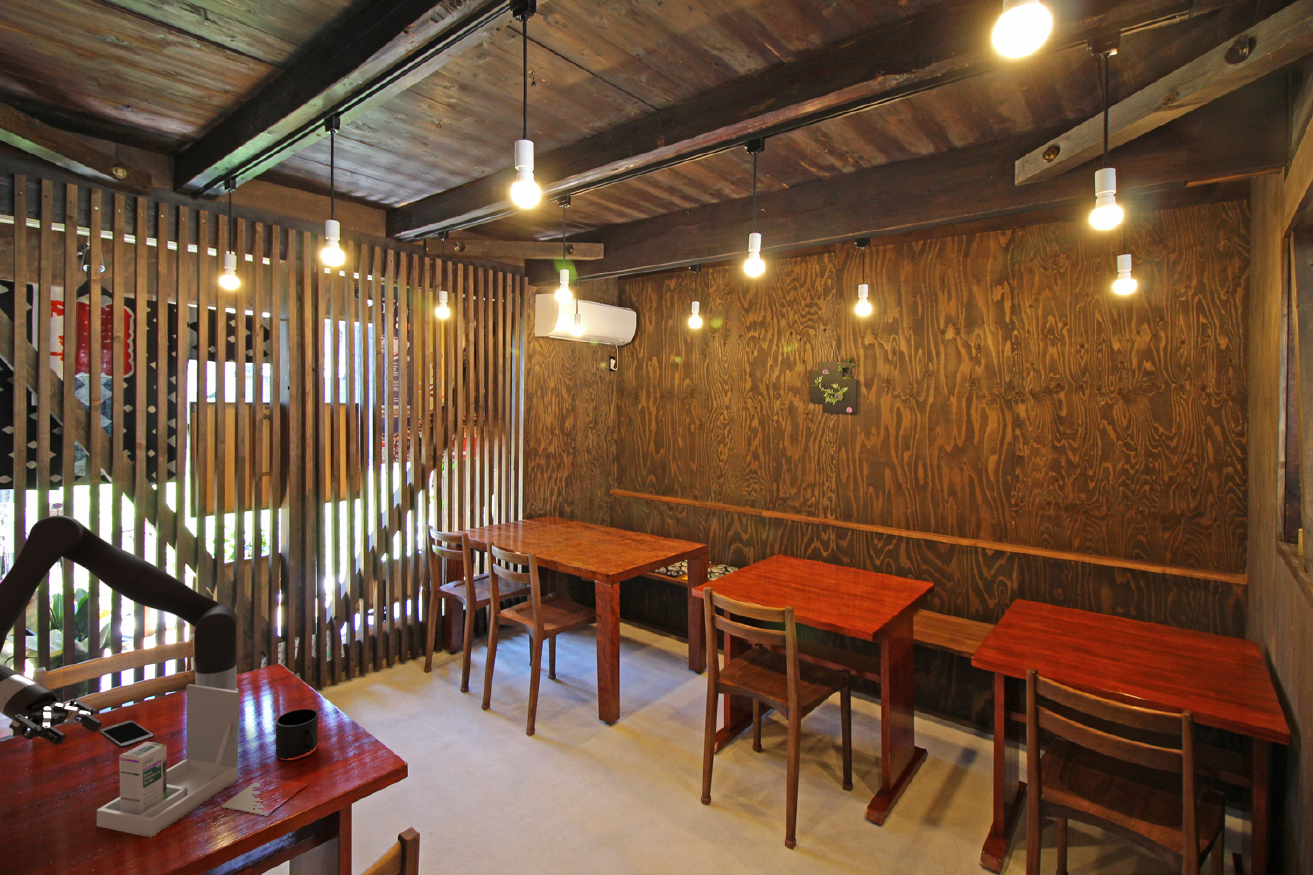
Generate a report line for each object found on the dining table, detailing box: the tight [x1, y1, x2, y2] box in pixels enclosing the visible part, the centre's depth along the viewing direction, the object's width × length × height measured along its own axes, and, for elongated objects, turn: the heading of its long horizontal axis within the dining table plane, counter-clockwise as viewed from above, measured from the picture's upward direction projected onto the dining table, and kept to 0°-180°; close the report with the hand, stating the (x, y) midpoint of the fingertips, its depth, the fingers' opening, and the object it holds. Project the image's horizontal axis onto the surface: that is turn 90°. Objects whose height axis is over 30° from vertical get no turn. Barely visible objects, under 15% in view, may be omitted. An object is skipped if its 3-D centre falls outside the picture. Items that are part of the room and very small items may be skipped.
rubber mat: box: [220, 781, 268, 815], centre depth 144 cm, size 12×12×1 cm
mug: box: [275, 708, 319, 759], centre depth 161 cm, size 9×12×9 cm
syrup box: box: [118, 741, 167, 815], centre depth 136 cm, size 6×6×14 cm
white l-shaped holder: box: [96, 683, 240, 838], centre depth 140 cm, size 21×14×22 cm
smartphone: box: [98, 719, 155, 748], centre depth 168 cm, size 7×15×1 cm, turn 59°
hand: (80, 733), depth 138 cm, fingers open, 8 cm apart
